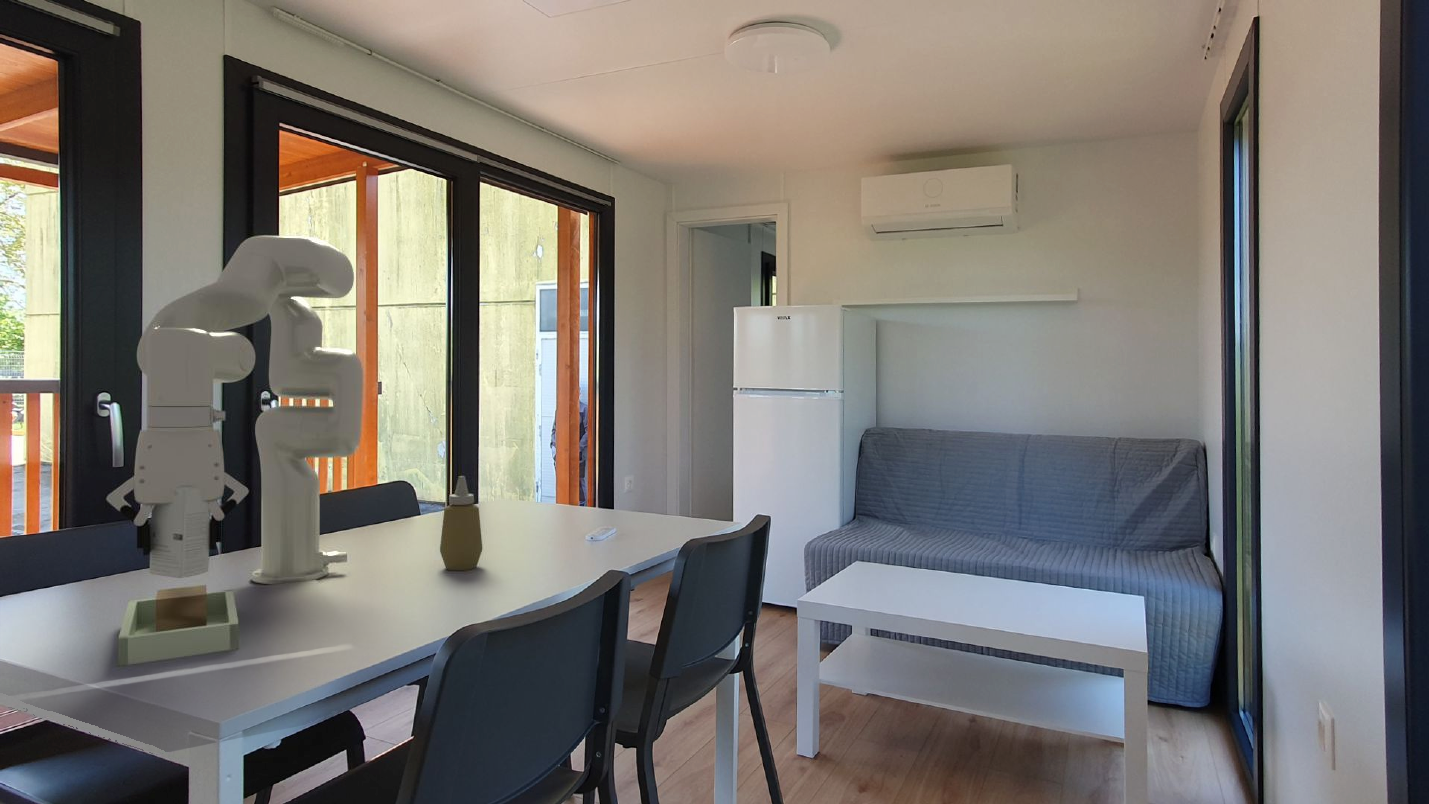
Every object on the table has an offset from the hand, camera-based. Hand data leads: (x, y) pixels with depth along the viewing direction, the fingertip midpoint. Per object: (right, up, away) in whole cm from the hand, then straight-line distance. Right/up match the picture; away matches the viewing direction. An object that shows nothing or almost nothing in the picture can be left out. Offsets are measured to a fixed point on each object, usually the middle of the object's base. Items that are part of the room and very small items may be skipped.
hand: (180, 549), depth 109 cm
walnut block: (-5, -13, +8) cm, 16 cm away
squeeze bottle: (+23, -13, +49) cm, 55 cm away
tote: (-2, -13, +4) cm, 14 cm away
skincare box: (0, -3, 0) cm, 3 cm away
